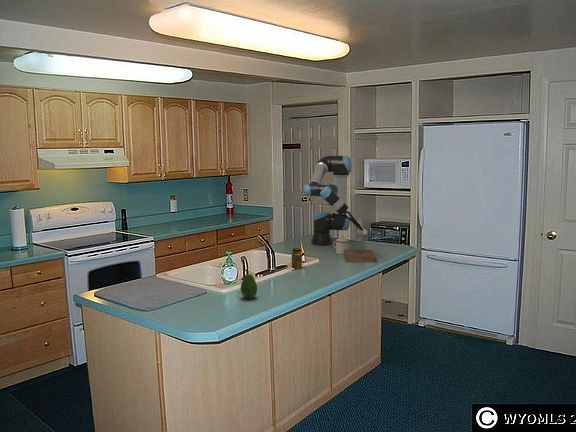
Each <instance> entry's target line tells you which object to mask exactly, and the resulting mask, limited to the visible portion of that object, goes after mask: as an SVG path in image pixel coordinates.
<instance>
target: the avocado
mask: <svg viewBox="0 0 576 432" xmlns="http://www.w3.org/2000/svg"><path fill="white" fill-rule="evenodd" d="M240 293H241V295H242V296H243V297H244V298H246V299H253V298H254V297H255V298H256V295H257V293H258V284H257V282H256V280H255V278H254V275H253V274H251V273H247V274H245V275H244V276H243V278H242V281H241V284H240Z"/></svg>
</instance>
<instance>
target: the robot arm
mask: <svg viewBox="0 0 576 432" xmlns="http://www.w3.org/2000/svg"><path fill="white" fill-rule="evenodd" d="M352 169H353V167H352V159H351V157H350V156H348V155H326V156H323V157H322V158H320V159H318V160H317V161H316V163H315V165H314V171H313V174H312V176H311V179H310V181H309V184H304V186H303V195H304V196H307V197H321V198H322V199H323V200H324V201H326V202H327V204H328V205H329V206H330V207H331V209H334V210H333V211H332V213H331V212H330V211H320V212H317V213H314V215H313V216H314V217H313V234H312V237H311V239H310V240H311V241H310V243H311V244H312V245H314V246H329V245H330V246H331V245H333V241H332V237H331V234H330V231H348V230H349V228H350V224H351V223H352V224H353V225H354V226H355V228H356V229H357V228H358V229H359V230H360V231H361V232H362V235H364V236H365V235H366V234H367V233H368V231H367V230H366V228H364V226H363V225H362V226H361V225H360V224H359V223H358V222H357V219H355V218H354V216H353V214H351V211H349V210H348V209H349V205H348V204H347V203H348V200H347V199H348V197H347V196H348V177H349V175H350V173H352ZM327 173H332V175H333V177H334V183H333V182H332V183H330V184H322V182H323V180H324V178H325V175H326V174H327Z"/></svg>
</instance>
